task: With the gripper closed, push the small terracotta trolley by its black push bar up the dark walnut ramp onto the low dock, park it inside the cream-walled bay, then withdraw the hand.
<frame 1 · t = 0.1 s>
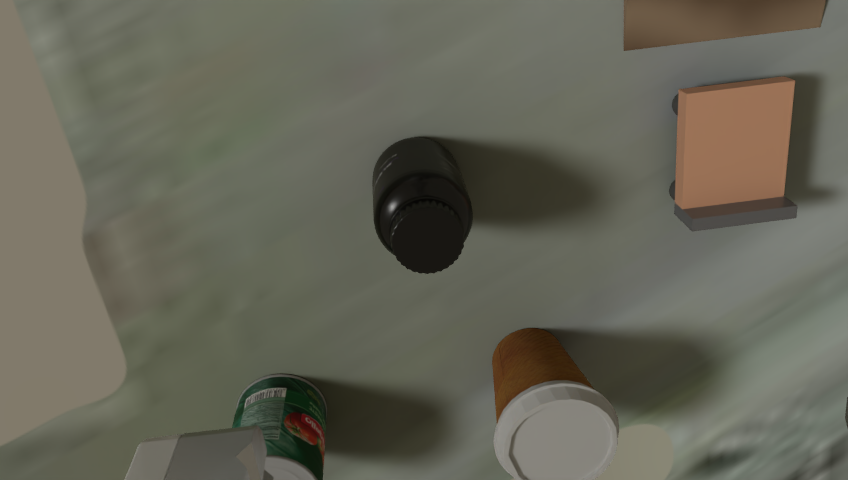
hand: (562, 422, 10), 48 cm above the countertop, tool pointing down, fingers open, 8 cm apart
supplement bottle: (415, 177, 60), on the countertop
disposable coffee cup: (527, 357, 67), on the countertop
trolley: (716, 140, 60), on the countertop
canned tomato: (282, 409, 68), on the countertop
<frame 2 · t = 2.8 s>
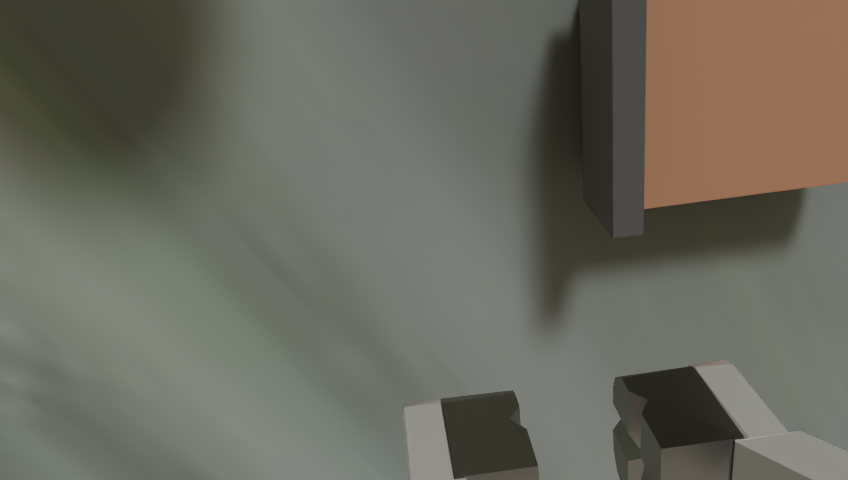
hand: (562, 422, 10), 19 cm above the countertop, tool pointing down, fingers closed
trolley: (699, 62, 28), on the countertop
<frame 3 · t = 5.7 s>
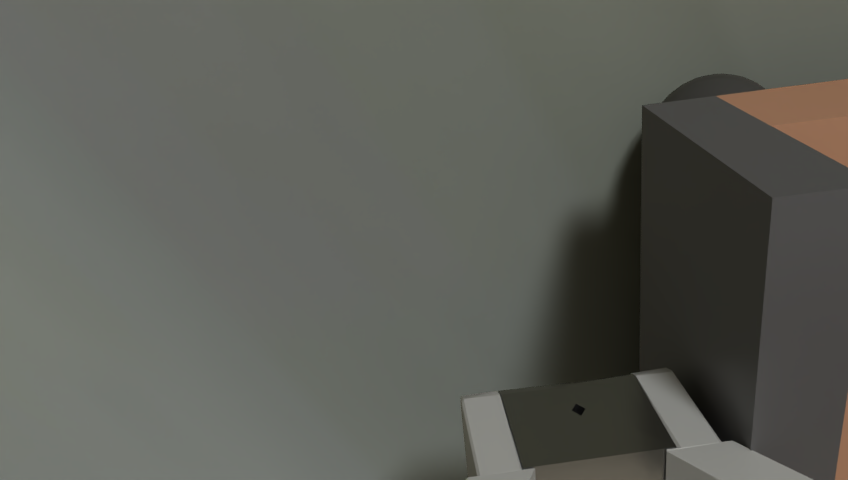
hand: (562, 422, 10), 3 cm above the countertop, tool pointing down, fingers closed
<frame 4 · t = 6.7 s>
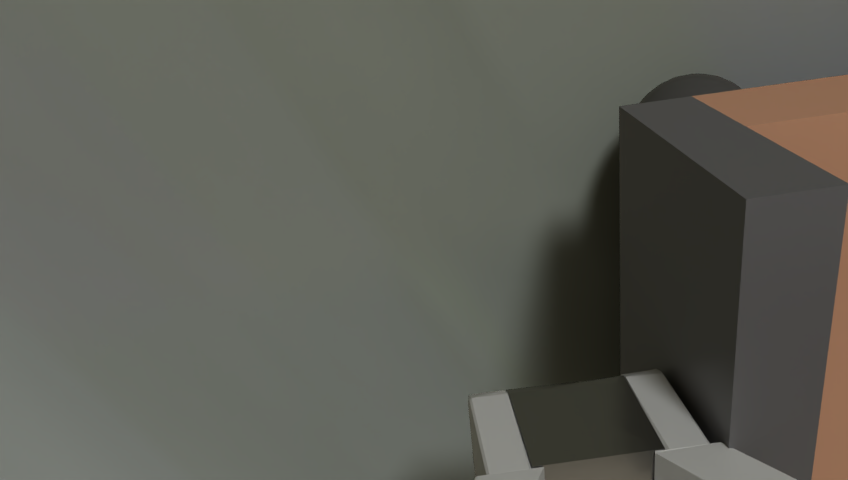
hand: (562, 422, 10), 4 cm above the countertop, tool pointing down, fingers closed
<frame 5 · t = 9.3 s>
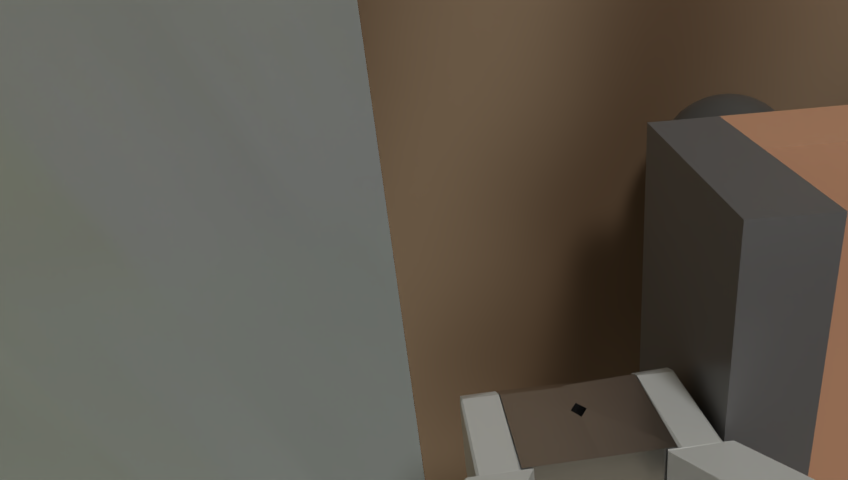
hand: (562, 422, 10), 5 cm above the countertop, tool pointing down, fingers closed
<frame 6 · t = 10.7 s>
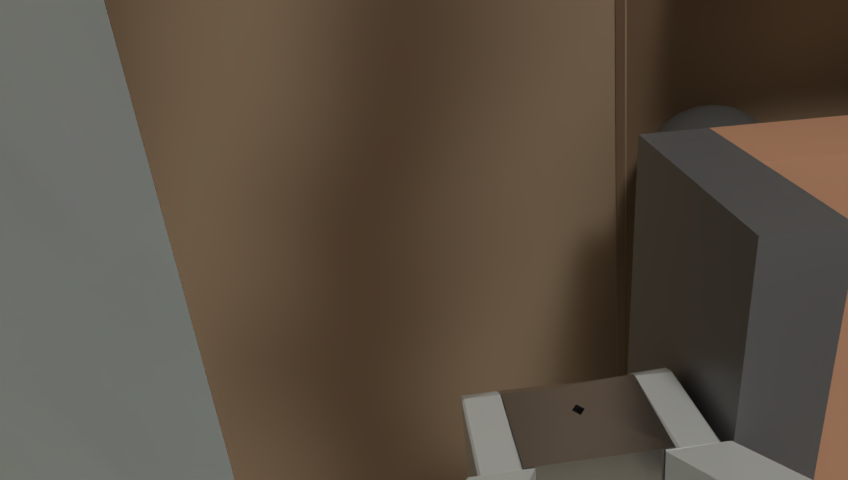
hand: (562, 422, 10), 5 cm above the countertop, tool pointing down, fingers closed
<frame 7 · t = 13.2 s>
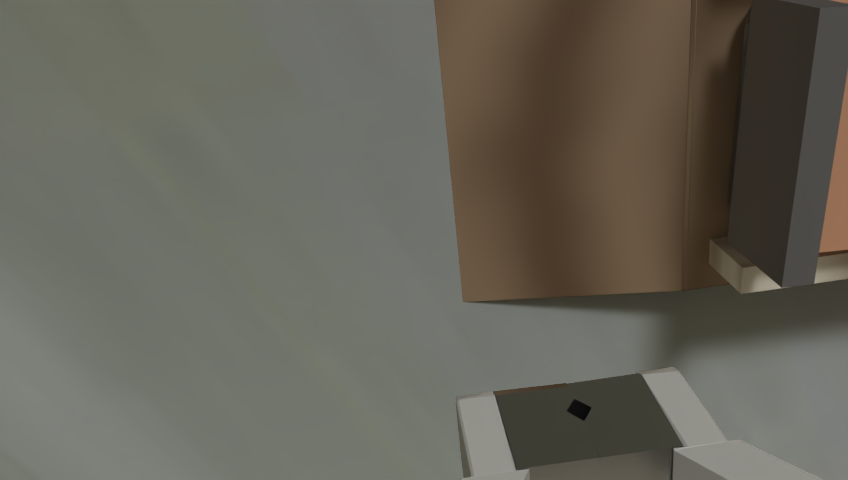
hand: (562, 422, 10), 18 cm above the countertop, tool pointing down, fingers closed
loading dock: (833, 64, 27), on the countertop
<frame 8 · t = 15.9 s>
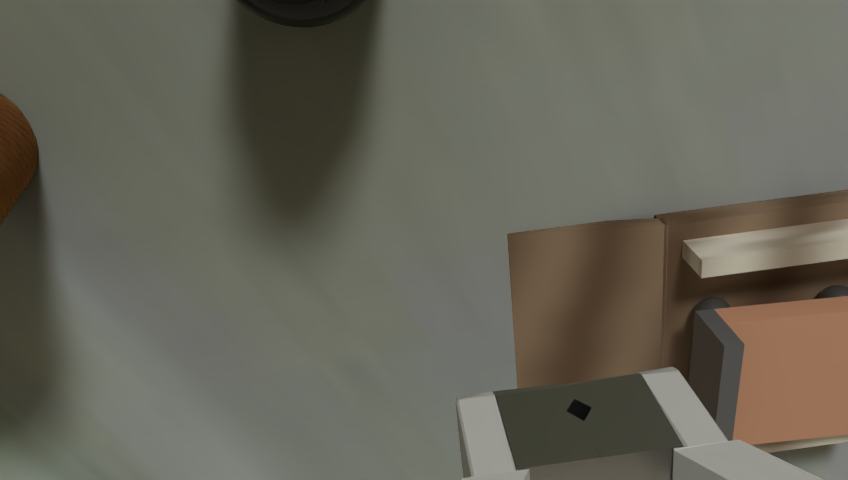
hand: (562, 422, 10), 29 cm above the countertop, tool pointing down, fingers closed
loading dock: (752, 319, 45), on the countertop
trolley: (760, 346, 44), point 1 cm above the countertop, touching loading dock
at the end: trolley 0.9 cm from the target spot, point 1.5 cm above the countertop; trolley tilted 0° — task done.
